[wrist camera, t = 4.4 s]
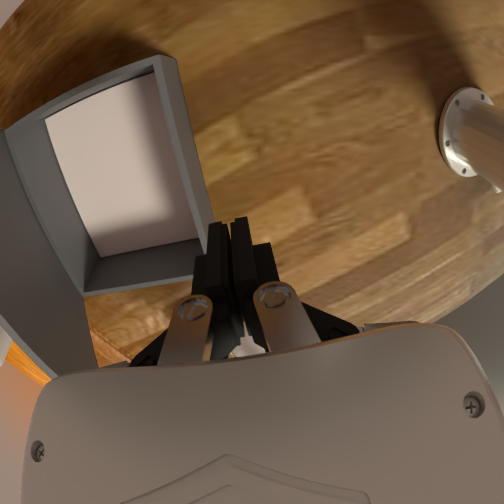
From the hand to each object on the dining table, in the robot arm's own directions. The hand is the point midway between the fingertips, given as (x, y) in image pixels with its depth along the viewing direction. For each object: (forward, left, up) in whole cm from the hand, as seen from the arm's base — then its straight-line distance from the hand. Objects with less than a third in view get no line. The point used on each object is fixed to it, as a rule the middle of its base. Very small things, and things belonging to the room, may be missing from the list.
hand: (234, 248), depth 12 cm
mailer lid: (+11, +11, -3) cm, 15 cm away
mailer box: (+8, +8, -17) cm, 21 cm away
